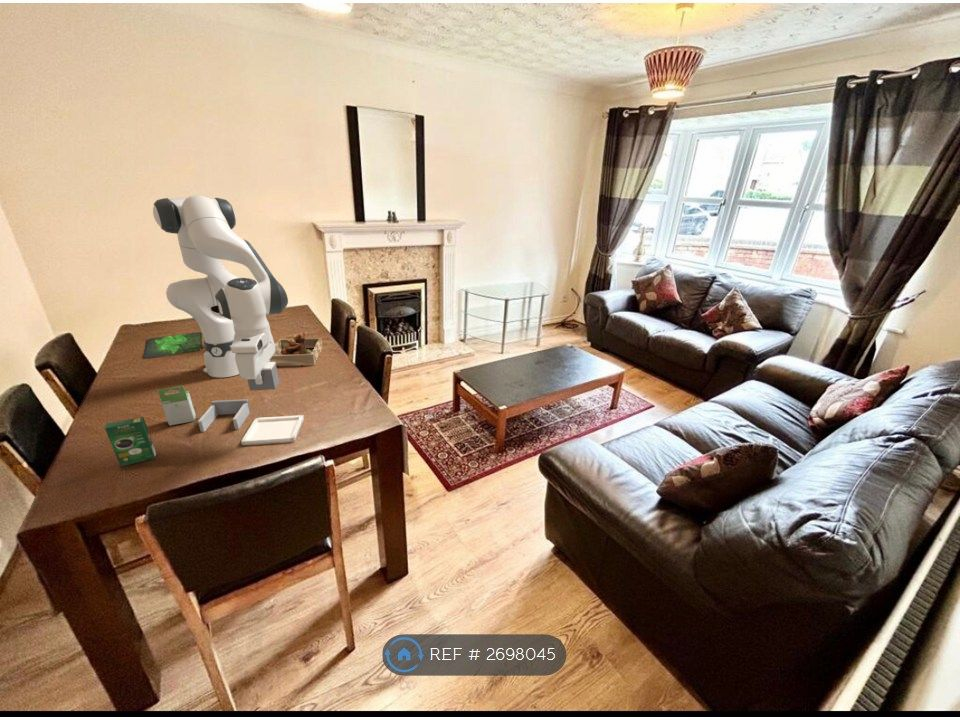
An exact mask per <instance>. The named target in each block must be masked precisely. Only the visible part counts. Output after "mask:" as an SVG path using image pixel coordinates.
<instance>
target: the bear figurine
mask: <svg viewBox="0 0 960 720" xmlns="http://www.w3.org/2000/svg"><path fill="white" fill-rule="evenodd" d="M305 334H306V333H305V332H303V333H298V334H295V335H293V336H292V339H294V340H290V341H289V340H288V343H289V345H287V346H286V347H285V348H284V349H282V351H281V352H280V355H293V354H311V353H312V350H310V349H306V348H305V344H304V340H305V338H306V337H305Z"/></svg>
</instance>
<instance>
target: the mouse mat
mask: <svg viewBox="0 0 960 720" xmlns="http://www.w3.org/2000/svg"><path fill="white" fill-rule="evenodd" d="M202 338H203V335H202V331H197V332H189V333H187V332H186V333H181V334H175V335H173V334H172V335H166V336H160V337H153V338H148V339H146V343H145V348H144V351H143V355H142V359H143V360H152V359H155V358H164V357H170V356H175V355H182V354H189V353H190V354H191V353H195V352H200V351H201V350H200V349H202V350H203V339H202Z"/></svg>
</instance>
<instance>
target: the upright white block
mask: <svg viewBox="0 0 960 720" xmlns="http://www.w3.org/2000/svg"><path fill="white" fill-rule="evenodd" d="M277 368H278V367H276V363H275V362H268V363H267V364H266V365H265V367H264V368H263V369H262V371H261V376H262V377H263V380H264V382H263V383H262V384H258V385H257V384H256V382H255V379H246V380H247V383H248V389H249V392H250V391H268V390H270V391H272V390H276V389H277V387H278V386H279V384H280V377H279V374H278V369H277Z"/></svg>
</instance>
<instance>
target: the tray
mask: <svg viewBox="0 0 960 720" xmlns="http://www.w3.org/2000/svg"><path fill="white" fill-rule="evenodd" d="M304 419H305V415H304V414H301V415H297V414H296V415H284V416H282V415H281V416H269V417H266V416H265V417H264V416H263V417H255V419H254V420H253V422H252V423H251V424H250V427H249V428H248V429H247V431H246V432H245V435H244V436H243V437H242V439H241V441H240V443H241V446H255V445H268V444H269V445H270V444H282V443H285V444H286V443H294V442H296V440H297V437H298V435H299V433H300V430H301V428H302V425H303V422H304Z"/></svg>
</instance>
